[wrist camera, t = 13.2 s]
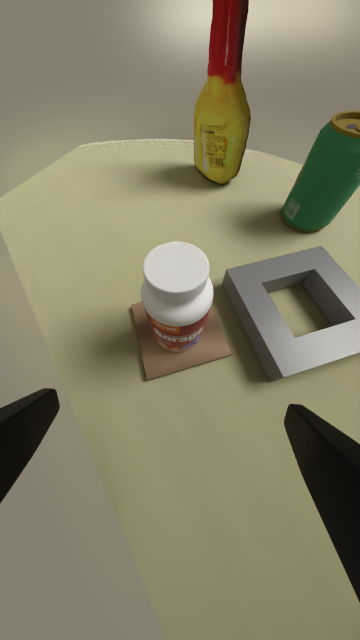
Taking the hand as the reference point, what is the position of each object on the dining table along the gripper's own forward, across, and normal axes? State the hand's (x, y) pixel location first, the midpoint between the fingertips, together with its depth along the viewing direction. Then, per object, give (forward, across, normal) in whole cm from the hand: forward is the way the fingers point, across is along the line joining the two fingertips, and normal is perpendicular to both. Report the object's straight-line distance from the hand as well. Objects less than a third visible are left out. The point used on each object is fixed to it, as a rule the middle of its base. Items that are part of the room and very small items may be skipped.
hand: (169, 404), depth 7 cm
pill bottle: (+16, 0, +3) cm, 16 cm away
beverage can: (+32, -20, -12) cm, 40 cm away
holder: (+18, -14, +1) cm, 23 cm away
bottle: (+42, -4, -22) cm, 47 cm away
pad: (+16, +1, +3) cm, 16 cm away
